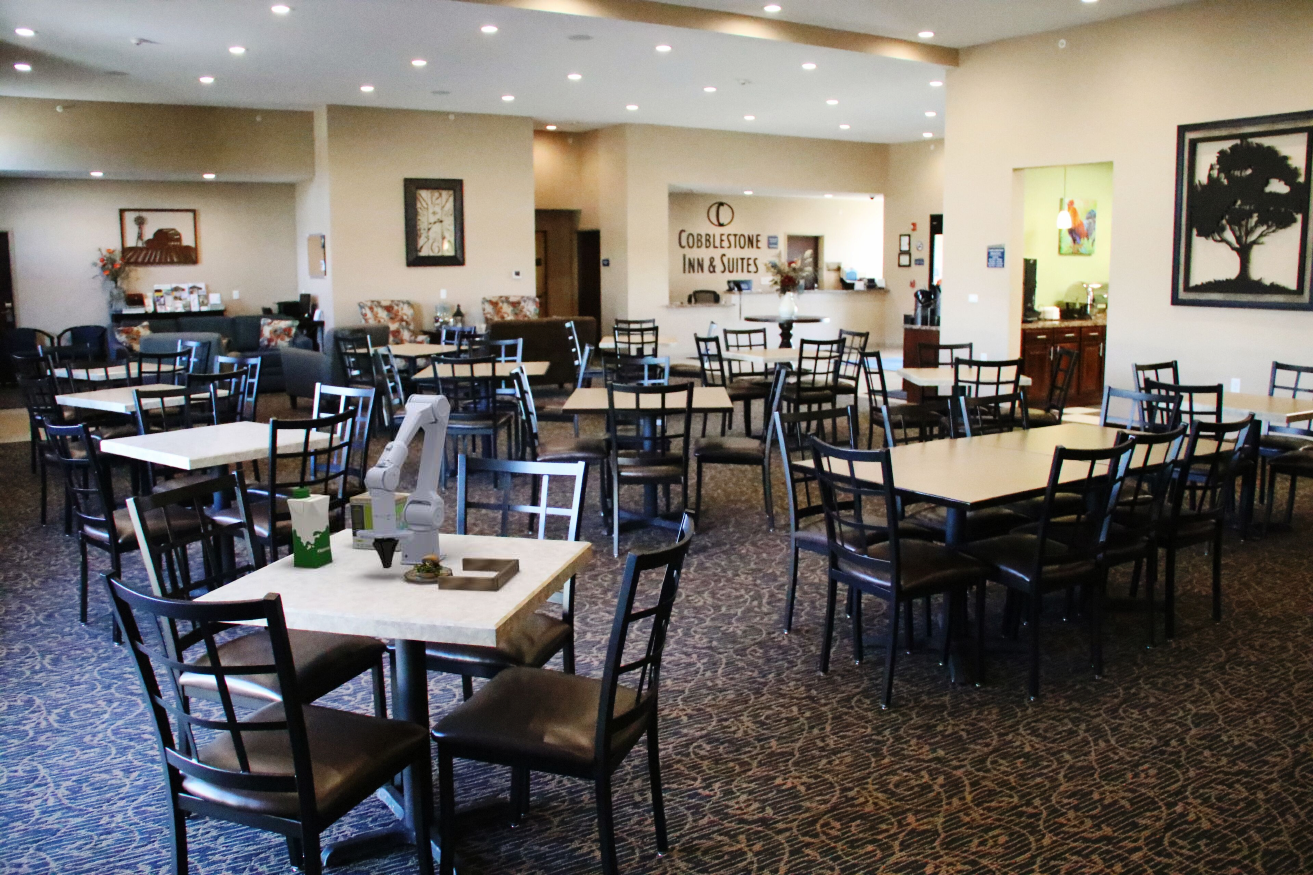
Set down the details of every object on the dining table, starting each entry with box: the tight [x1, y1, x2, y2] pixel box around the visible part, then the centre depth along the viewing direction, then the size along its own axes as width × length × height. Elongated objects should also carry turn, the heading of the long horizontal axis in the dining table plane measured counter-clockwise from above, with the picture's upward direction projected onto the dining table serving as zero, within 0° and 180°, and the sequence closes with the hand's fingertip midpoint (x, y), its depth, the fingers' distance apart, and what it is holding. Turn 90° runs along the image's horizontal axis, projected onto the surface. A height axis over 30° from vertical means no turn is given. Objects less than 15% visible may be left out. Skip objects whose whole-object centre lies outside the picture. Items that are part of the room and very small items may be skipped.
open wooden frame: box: [437, 557, 520, 592], centre depth 255 cm, size 15×17×3 cm
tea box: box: [349, 491, 413, 552], centre depth 289 cm, size 15×10×15 cm
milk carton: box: [286, 487, 333, 569], centre depth 271 cm, size 9×9×20 cm
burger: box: [403, 548, 454, 583], centre depth 257 cm, size 12×12×8 cm
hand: (387, 567), depth 259 cm, fingers closed
